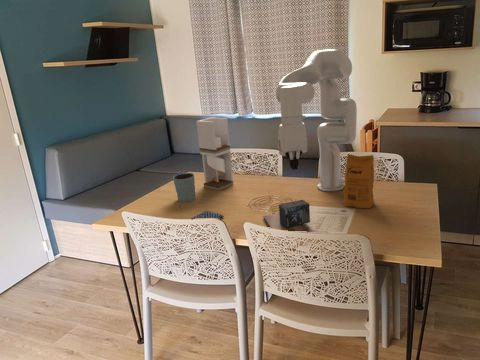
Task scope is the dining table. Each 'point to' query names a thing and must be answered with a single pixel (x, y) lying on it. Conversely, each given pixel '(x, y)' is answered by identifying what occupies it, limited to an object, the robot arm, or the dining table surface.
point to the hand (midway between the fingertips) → (294, 168)
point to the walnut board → (274, 222)
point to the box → (294, 213)
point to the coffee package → (359, 181)
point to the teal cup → (185, 187)
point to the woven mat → (209, 215)
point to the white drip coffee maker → (215, 152)
